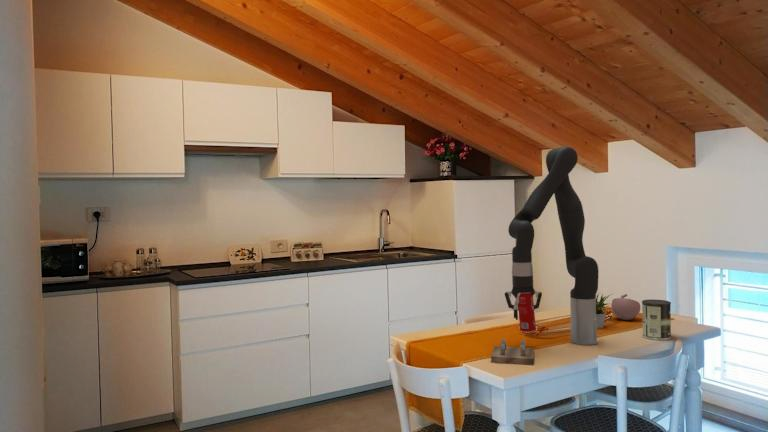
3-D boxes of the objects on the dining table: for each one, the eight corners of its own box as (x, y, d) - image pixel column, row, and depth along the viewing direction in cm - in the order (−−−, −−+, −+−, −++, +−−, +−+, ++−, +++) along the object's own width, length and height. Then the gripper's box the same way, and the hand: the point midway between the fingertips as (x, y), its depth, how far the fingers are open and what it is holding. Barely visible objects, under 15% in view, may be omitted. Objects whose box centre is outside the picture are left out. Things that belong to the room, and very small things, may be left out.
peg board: (534, 353, 203) (534, 338, 203) (533, 364, 190) (533, 348, 190) (494, 351, 207) (494, 336, 207) (491, 362, 194) (491, 346, 194)
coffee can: (666, 334, 227) (666, 299, 227) (674, 340, 217) (674, 304, 217) (639, 333, 230) (639, 299, 229) (645, 340, 219) (645, 303, 219)
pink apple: (642, 318, 257) (642, 293, 257) (638, 323, 247) (638, 297, 247) (614, 316, 264) (613, 291, 263) (609, 321, 254) (608, 295, 253)
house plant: (570, 327, 243) (569, 289, 243) (585, 321, 253) (584, 285, 253) (602, 332, 233) (602, 292, 233) (617, 326, 243) (616, 288, 242)
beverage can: (536, 333, 208) (535, 292, 208) (518, 333, 210) (517, 292, 209) (535, 329, 214) (534, 289, 214) (517, 329, 216) (516, 289, 215)
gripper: (542, 272, 213) (543, 317, 214) (503, 272, 217) (505, 317, 217) (542, 275, 206) (544, 322, 206) (502, 275, 210) (503, 321, 210)
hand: (524, 319), depth 212 cm, fingers closed on beverage can, 4 cm apart
